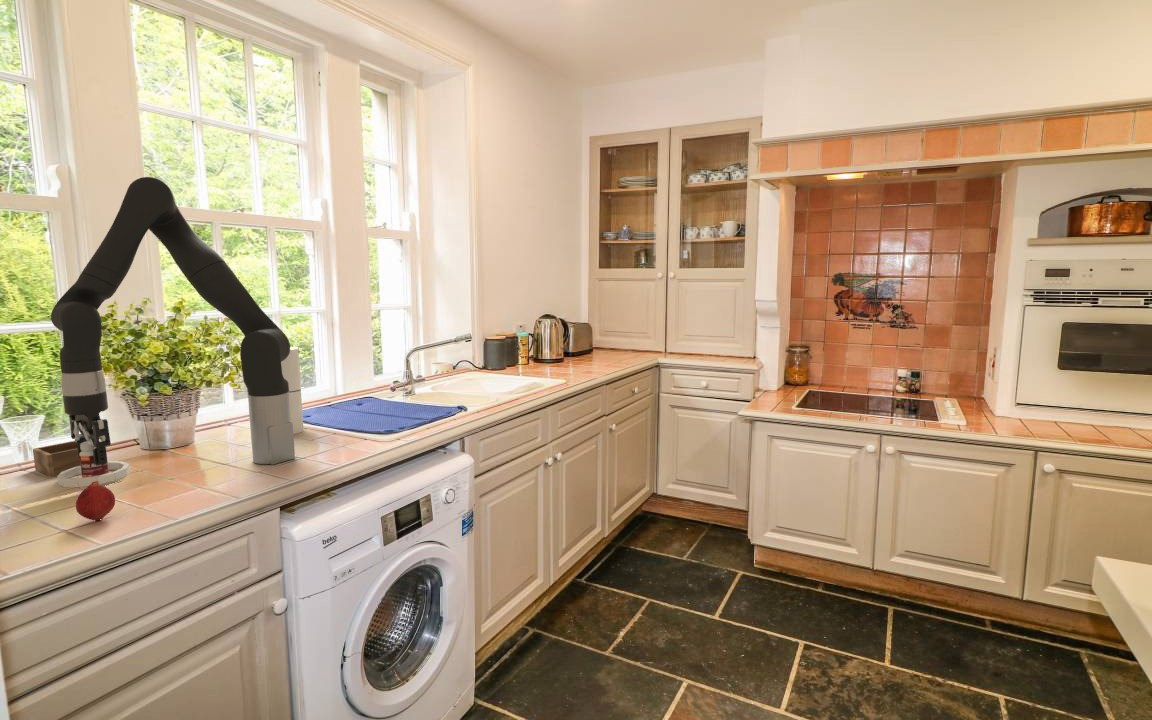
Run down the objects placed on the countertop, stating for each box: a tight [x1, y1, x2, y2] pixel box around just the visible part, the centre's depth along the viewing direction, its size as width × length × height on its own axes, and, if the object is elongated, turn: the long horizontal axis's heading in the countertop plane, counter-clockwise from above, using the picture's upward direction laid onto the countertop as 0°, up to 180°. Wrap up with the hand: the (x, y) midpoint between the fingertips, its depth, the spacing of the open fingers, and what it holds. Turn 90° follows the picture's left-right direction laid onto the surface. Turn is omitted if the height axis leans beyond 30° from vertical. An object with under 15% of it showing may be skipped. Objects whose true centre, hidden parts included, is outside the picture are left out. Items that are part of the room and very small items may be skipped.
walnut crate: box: [32, 440, 81, 478], centre depth 141 cm, size 9×9×6 cm
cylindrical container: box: [281, 346, 304, 435], centre depth 175 cm, size 7×7×25 cm
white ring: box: [56, 460, 131, 488], centre depth 135 cm, size 12×12×2 cm
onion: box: [75, 480, 116, 521], centre depth 113 cm, size 6×6×8 cm
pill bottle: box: [79, 439, 110, 478], centre depth 134 cm, size 5×5×8 cm
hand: (93, 461), depth 134 cm, fingers open, 8 cm apart
